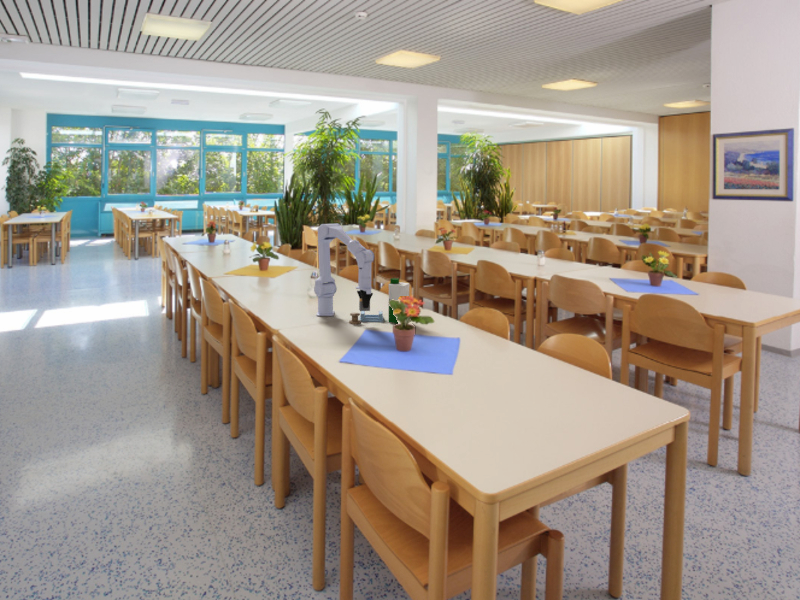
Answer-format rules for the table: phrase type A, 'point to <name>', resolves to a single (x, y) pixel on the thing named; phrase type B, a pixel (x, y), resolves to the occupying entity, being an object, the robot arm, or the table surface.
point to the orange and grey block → (362, 306)
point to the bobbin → (354, 318)
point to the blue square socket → (371, 317)
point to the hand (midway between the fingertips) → (364, 306)
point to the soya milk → (396, 294)
